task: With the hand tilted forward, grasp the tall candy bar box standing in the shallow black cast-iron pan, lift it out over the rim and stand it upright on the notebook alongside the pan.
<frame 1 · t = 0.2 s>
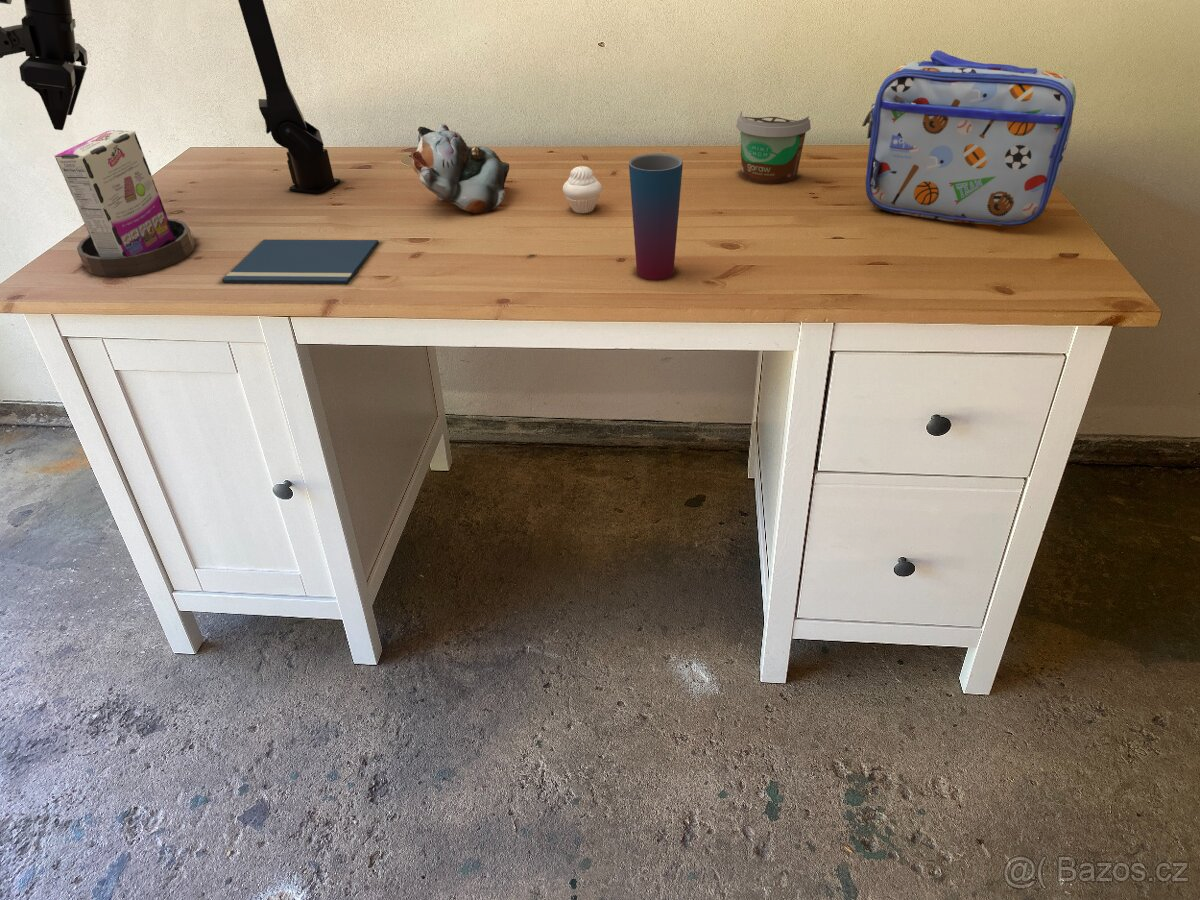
hand: (63, 122, 129), 15 cm above the table, tool pointing down, fingers open, 9 cm apart
lucky cat figurine: (466, 203, 138), on the table
muffin: (583, 211, 133), on the table
lunch box: (944, 214, 126), on the table
candy bar box: (140, 254, 125), resting on pan
notebook: (303, 262, 121), on the table
cup: (655, 273, 114), on the table
pan: (140, 255, 125), on the table
food container: (765, 180, 141), on the table
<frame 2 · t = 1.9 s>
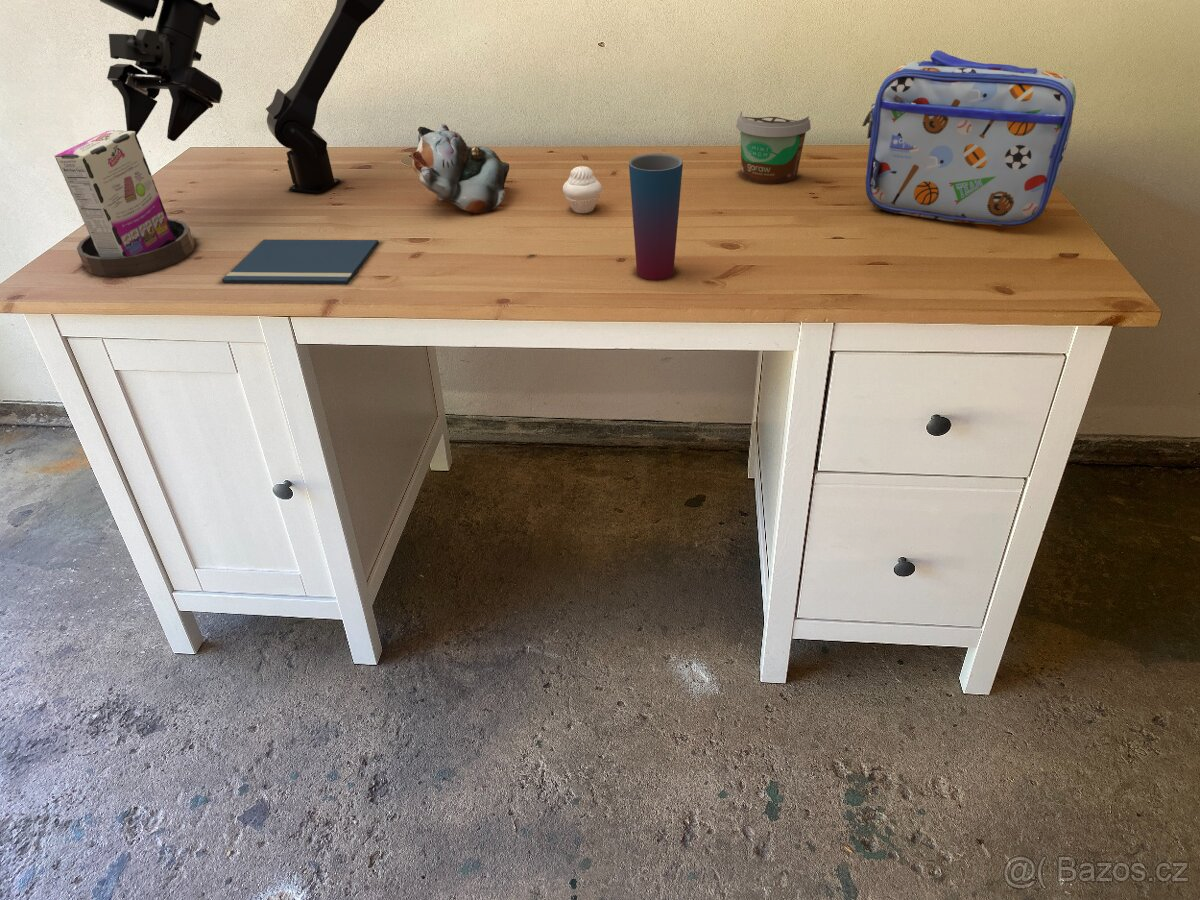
hand: (150, 137, 125), 14 cm above the table, tool tilted 40°, fingers open, 9 cm apart
nothing on the table moved.
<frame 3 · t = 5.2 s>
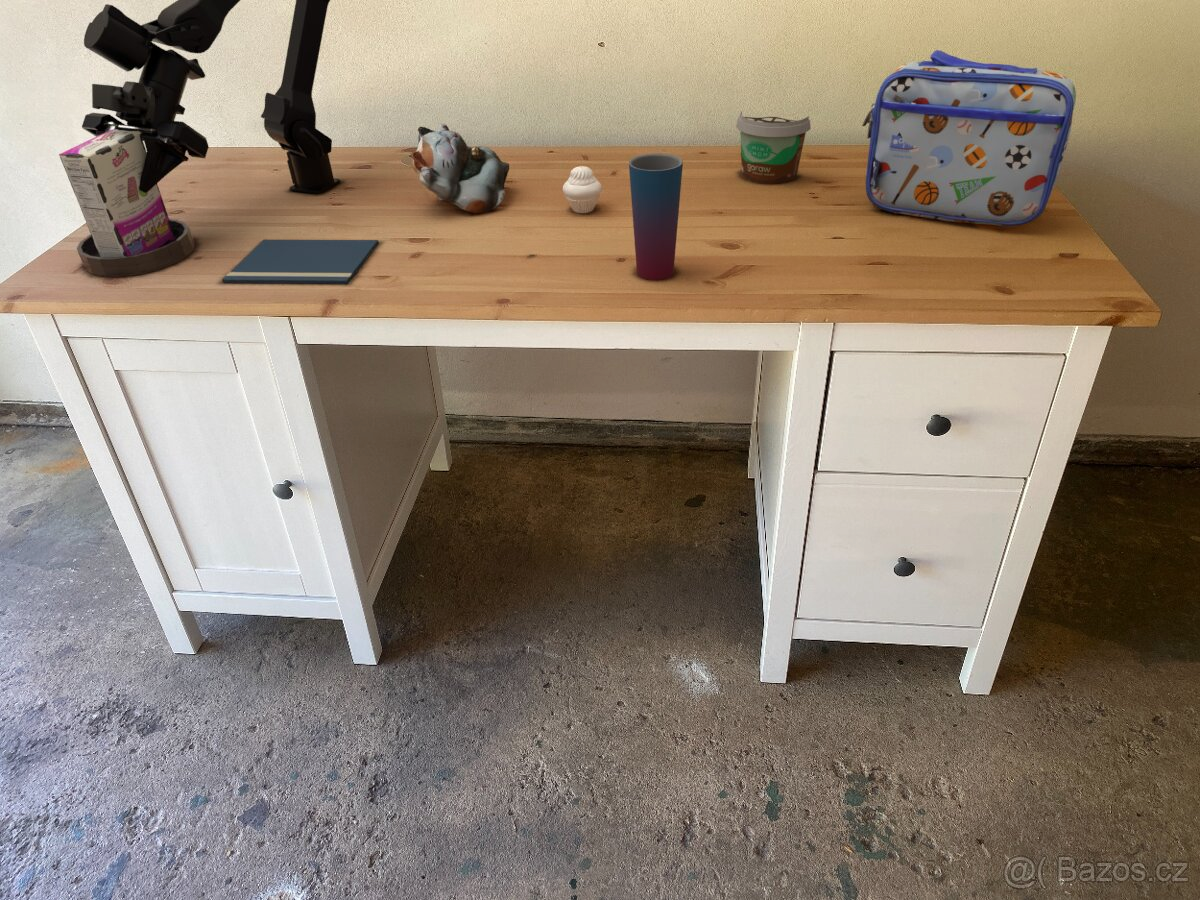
hand: (128, 189, 121), 9 cm above the table, tool tilted 45°, fingers closed on candy bar box, 5 cm apart
candy bar box: (140, 253, 125), resting on pan, touching gripper
everything else where it was.
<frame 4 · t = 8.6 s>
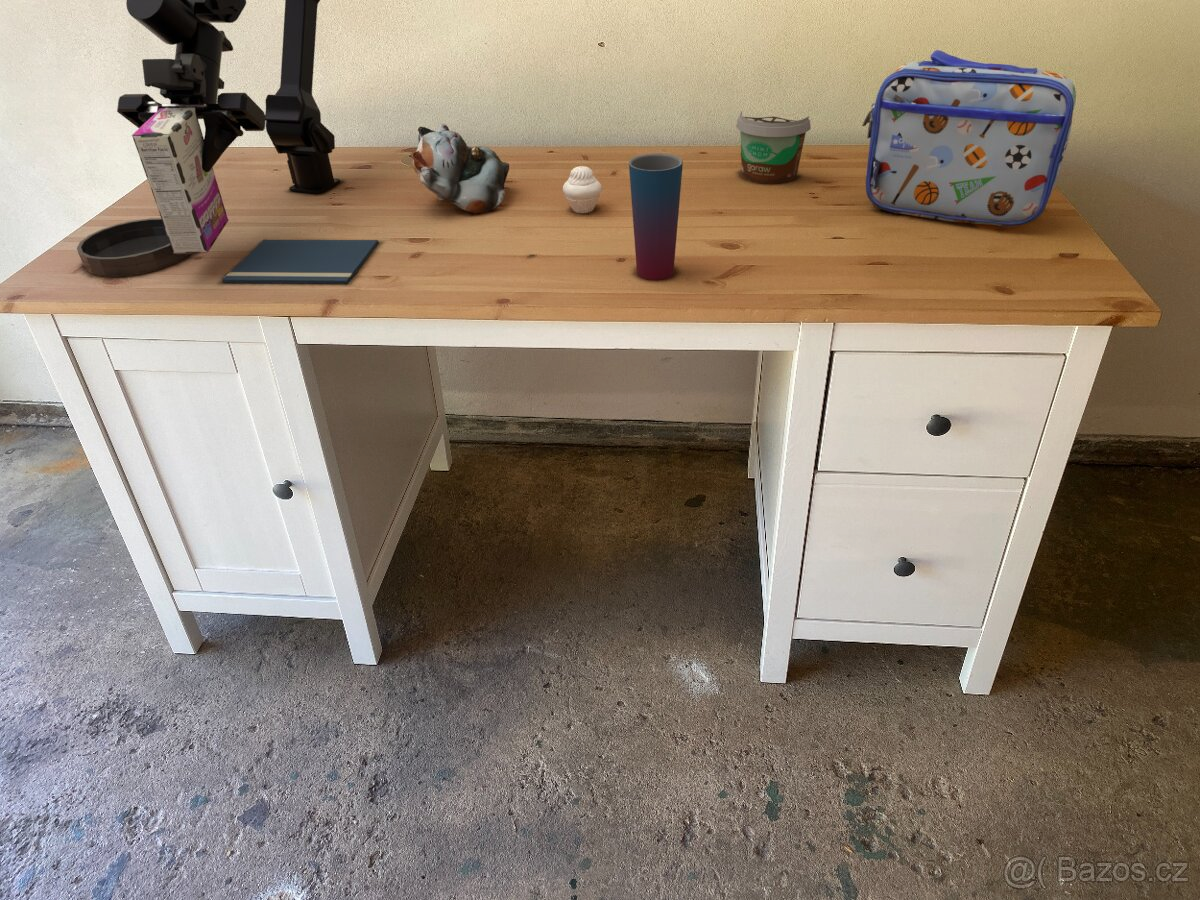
hand: (186, 170, 115), 13 cm above the table, tool tilted 45°, fingers closed on candy bar box, 5 cm apart
candy bar box: (201, 239, 118), point 4 cm above the table, touching gripper
everything else where it was.
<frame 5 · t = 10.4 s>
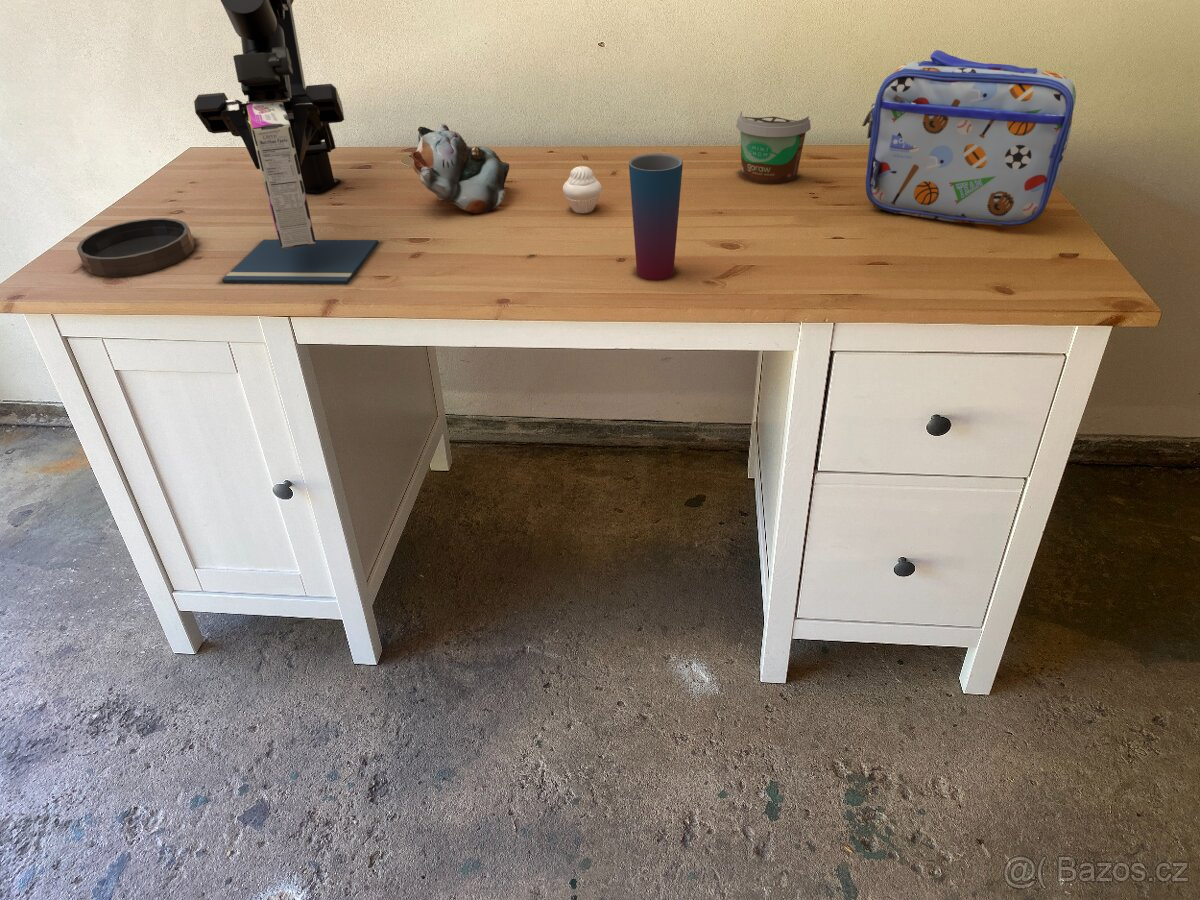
hand: (278, 165, 114), 13 cm above the table, tool tilted 45°, fingers closed on candy bar box, 5 cm apart
candy bar box: (294, 234, 118), point 4 cm above the table, touching gripper
everything else where it was.
when the fingers open (10 cm above the table, at t = 12.2 s): candy bar box stays where it is, resting on notebook.
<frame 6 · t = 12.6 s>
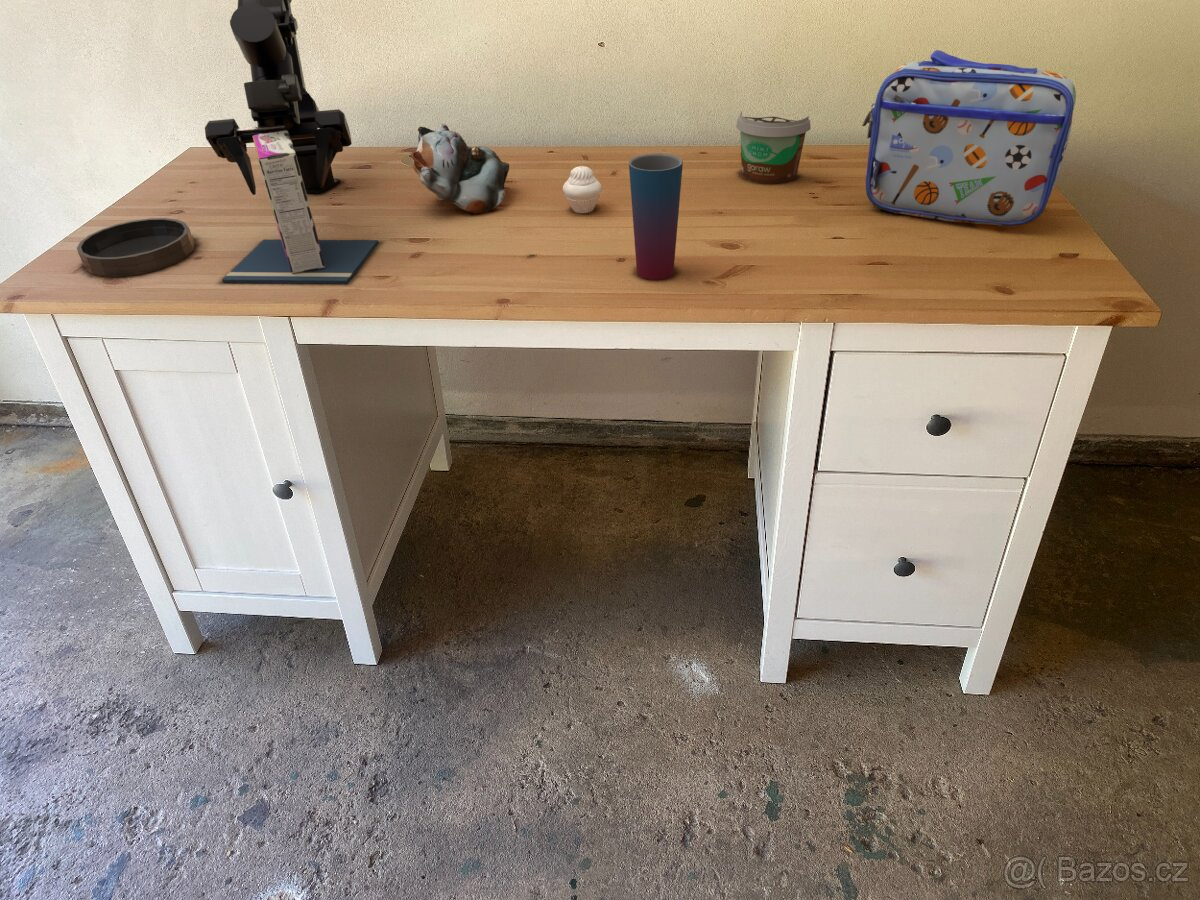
hand: (287, 189, 116), 10 cm above the table, tool tilted 45°, fingers open, 9 cm apart
candy bar box: (304, 259, 121), resting on notebook
everything else where it was.
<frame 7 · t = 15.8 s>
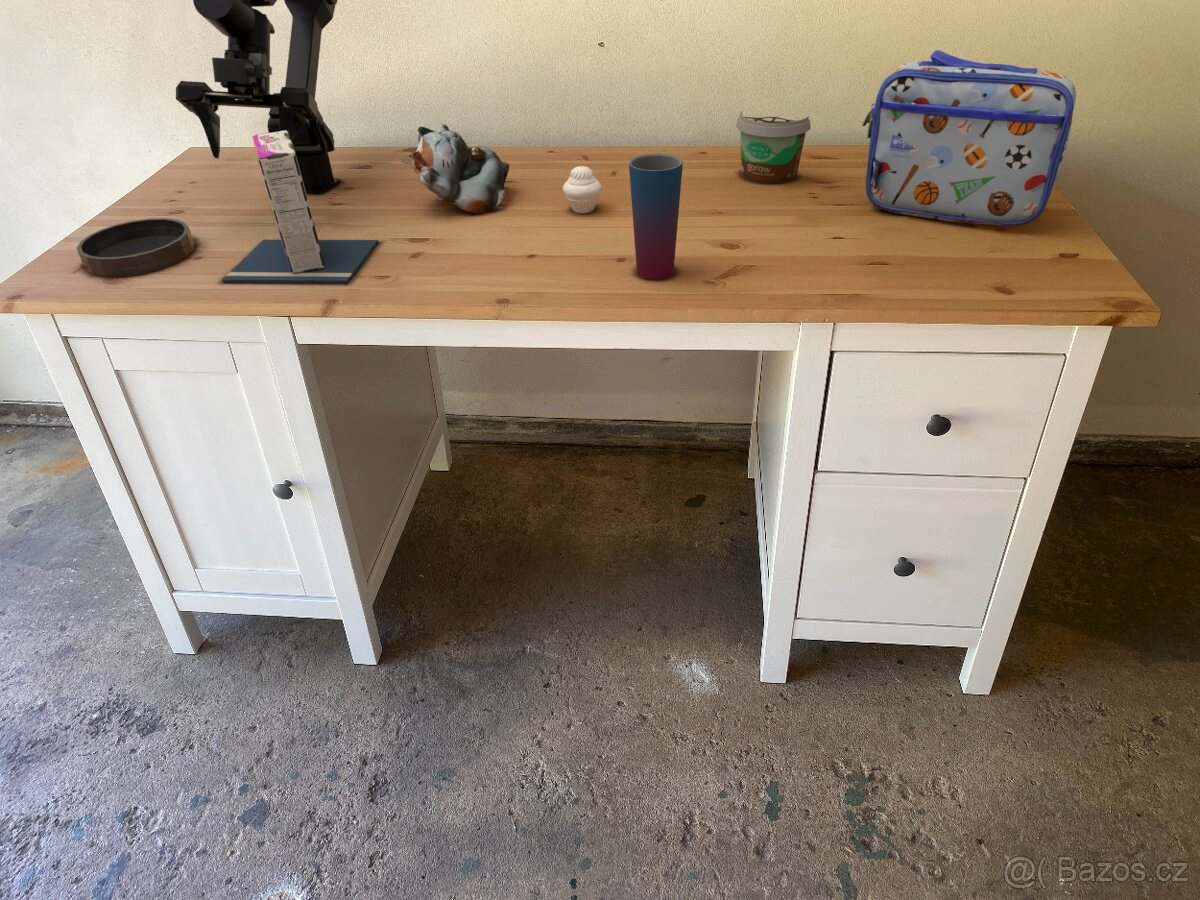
hand: (248, 159, 123), 11 cm above the table, tool tilted 35°, fingers open, 9 cm apart
nothing on the table moved.
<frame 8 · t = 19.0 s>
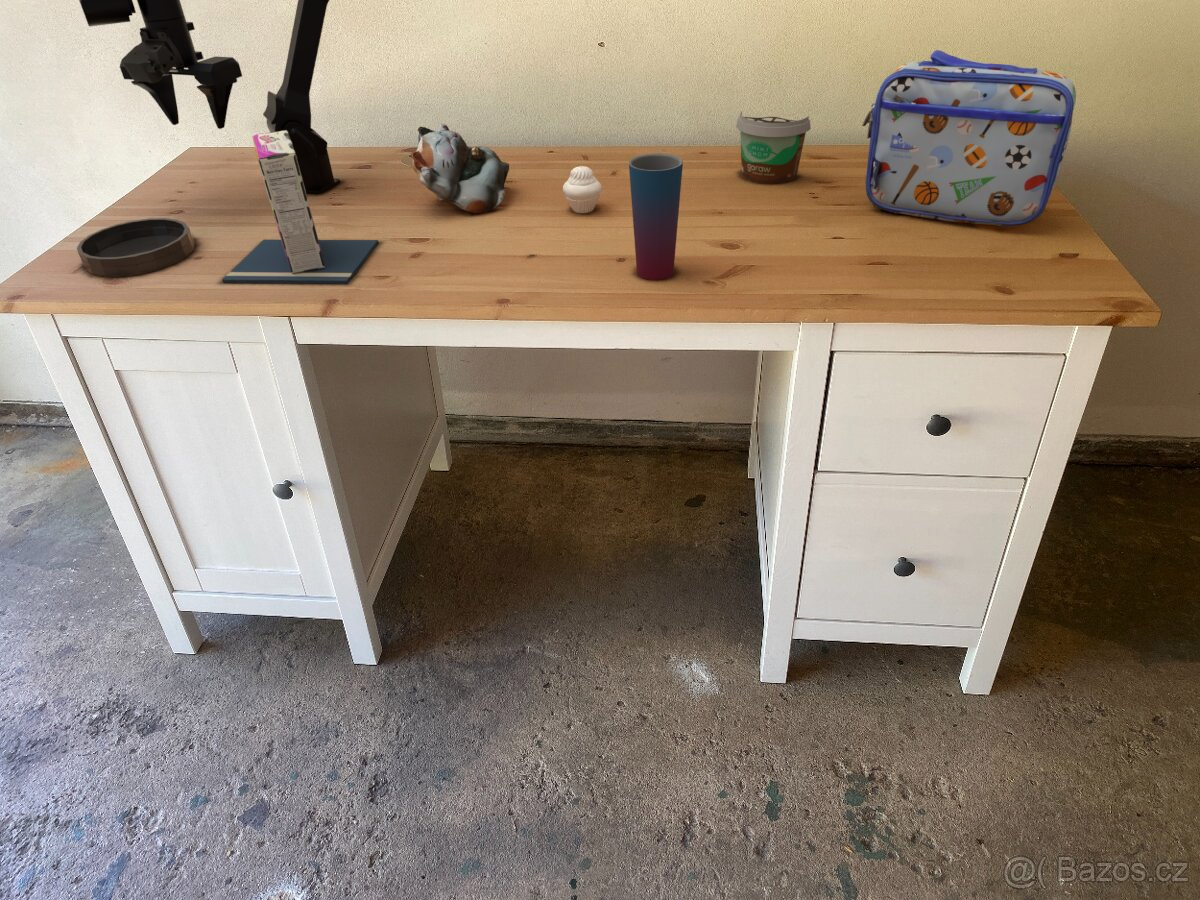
hand: (198, 126, 133), 13 cm above the table, tool pointing down, fingers open, 9 cm apart
nothing on the table moved.
at the end: candy bar box inside the target area on the notebook (0.3 cm from its centre), point 0.3 cm above the notebook's base; candy bar box tilted 0°; candy bar box touching notebook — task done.
